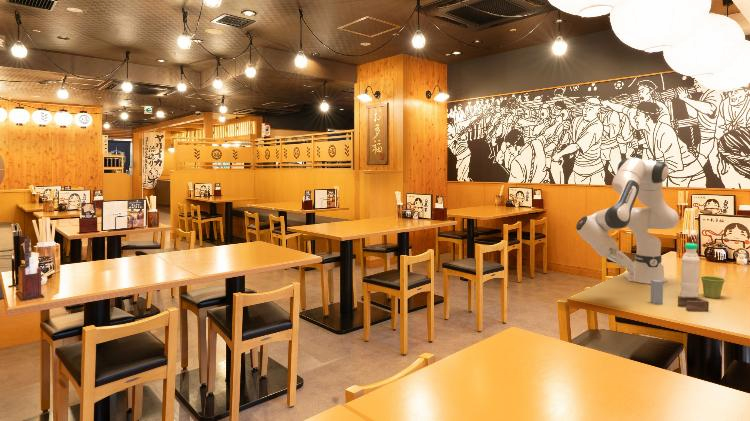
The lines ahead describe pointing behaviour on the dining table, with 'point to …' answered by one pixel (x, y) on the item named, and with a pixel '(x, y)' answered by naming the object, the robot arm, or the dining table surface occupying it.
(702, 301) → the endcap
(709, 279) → the plant pot
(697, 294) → the water bottle
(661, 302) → the grey tall block
